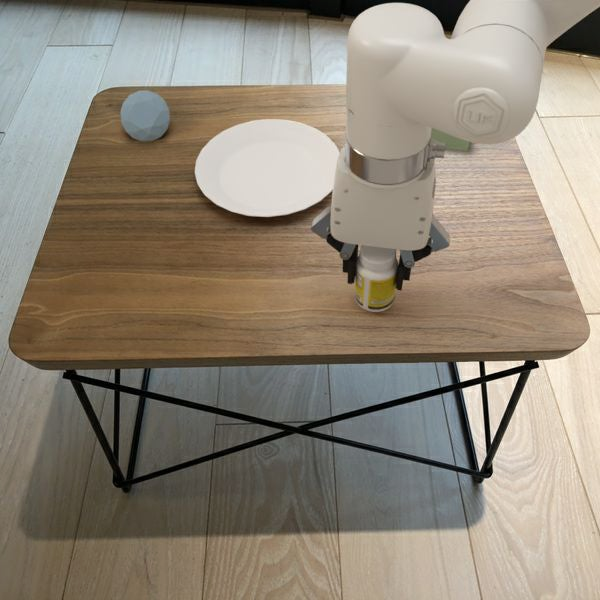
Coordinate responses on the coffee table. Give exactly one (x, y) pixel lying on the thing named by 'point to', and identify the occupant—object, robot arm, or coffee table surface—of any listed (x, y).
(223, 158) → the plate
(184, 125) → the coffee table surface
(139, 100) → the gemstone
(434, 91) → the robot arm
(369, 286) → the supplement bottle
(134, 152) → the coffee table surface
